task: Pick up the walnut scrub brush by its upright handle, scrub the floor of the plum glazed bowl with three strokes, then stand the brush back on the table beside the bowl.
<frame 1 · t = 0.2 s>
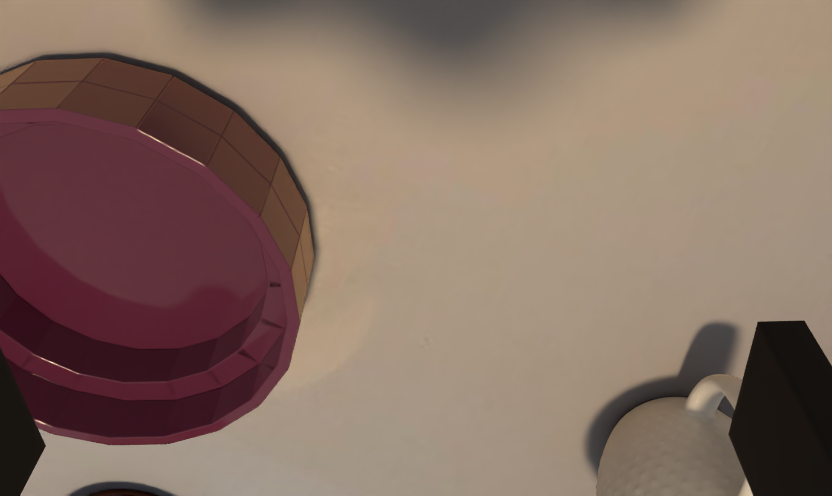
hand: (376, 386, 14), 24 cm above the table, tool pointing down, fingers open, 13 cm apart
bowl: (129, 230, 41), on the table
mug: (670, 418, 48), on the table
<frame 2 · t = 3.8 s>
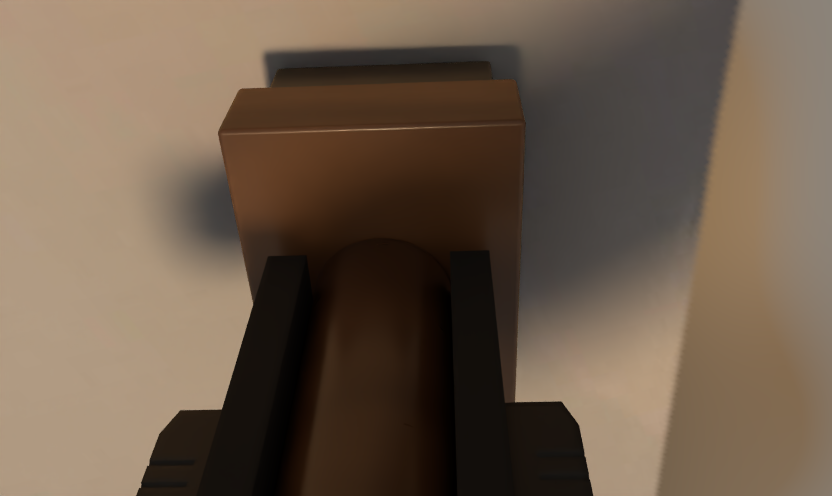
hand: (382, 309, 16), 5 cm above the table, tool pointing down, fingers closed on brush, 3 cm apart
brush: (392, 194, 20), on the table, touching gripper
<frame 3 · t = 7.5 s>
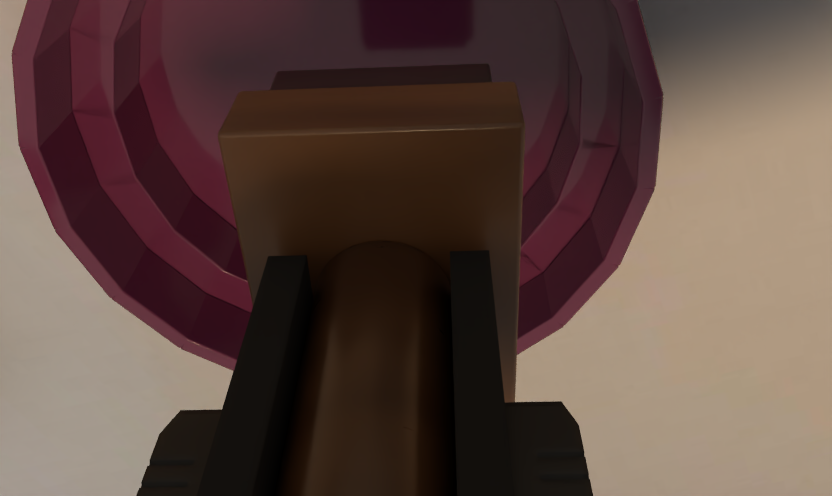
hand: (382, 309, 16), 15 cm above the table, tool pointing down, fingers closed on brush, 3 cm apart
bowl: (356, 88, 29), on the table
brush: (391, 196, 20), point 10 cm above the table, touching gripper
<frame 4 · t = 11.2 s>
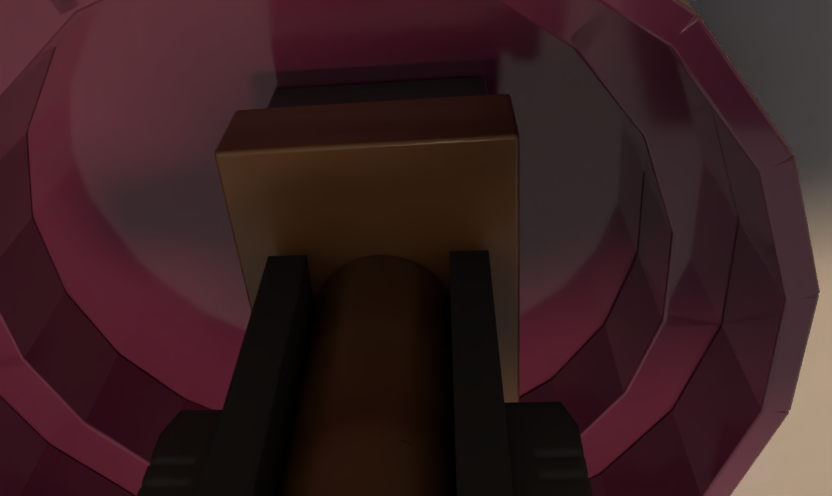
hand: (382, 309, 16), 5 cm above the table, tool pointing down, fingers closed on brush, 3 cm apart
bowl: (339, 222, 21), on the table
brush: (392, 211, 20), point 1 cm above the table, touching gripper
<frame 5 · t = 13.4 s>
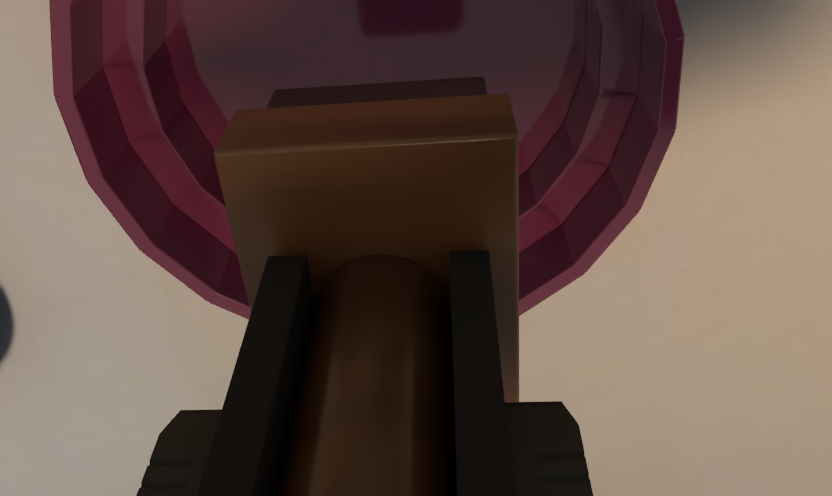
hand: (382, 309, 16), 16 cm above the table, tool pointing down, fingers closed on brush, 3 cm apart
bowl: (377, 46, 29), on the table
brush: (391, 211, 20), point 12 cm above the table, touching gripper
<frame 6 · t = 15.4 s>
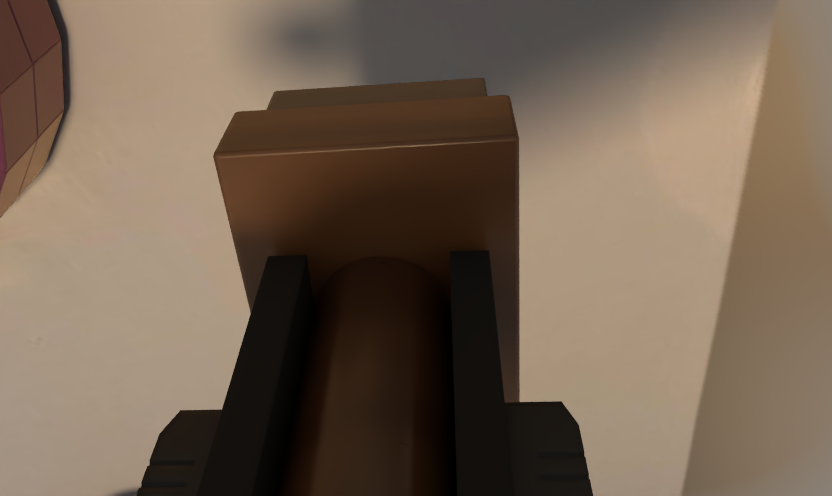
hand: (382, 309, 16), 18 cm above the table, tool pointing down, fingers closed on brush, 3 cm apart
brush: (392, 212, 20), point 14 cm above the table, touching gripper
when the fingers open (4 cm above the table, at t = 18.8 s): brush stays where it is, on the table.
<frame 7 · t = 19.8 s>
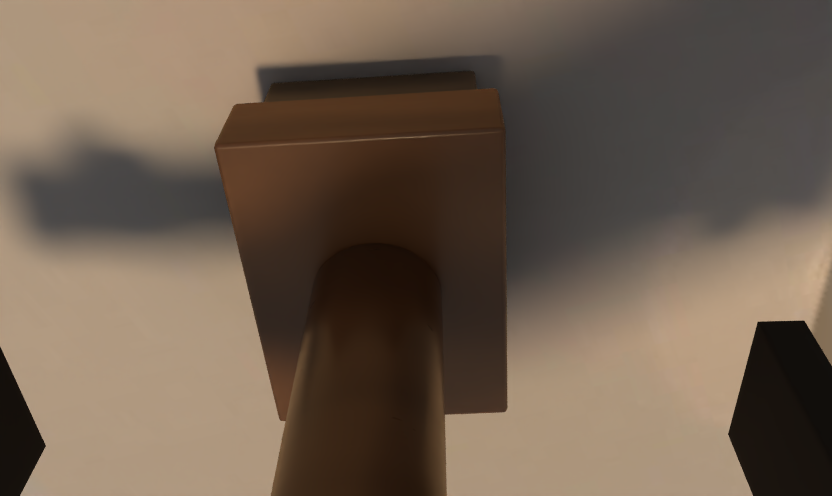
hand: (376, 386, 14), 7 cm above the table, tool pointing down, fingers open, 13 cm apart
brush: (385, 200, 20), on the table
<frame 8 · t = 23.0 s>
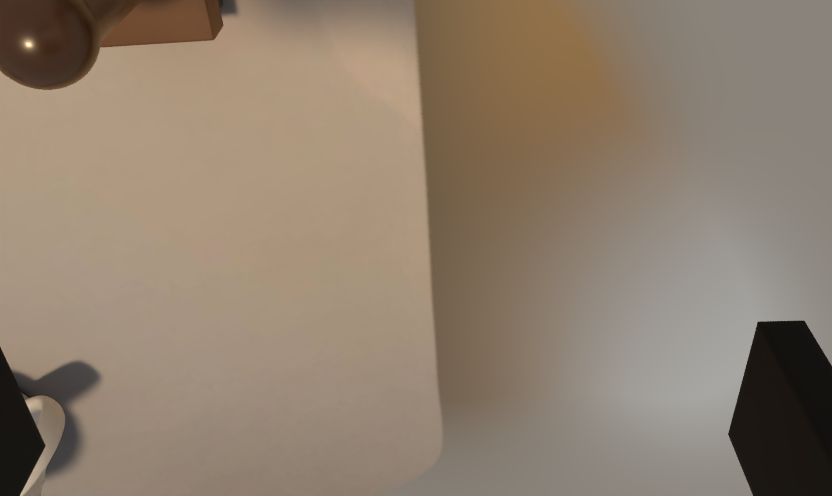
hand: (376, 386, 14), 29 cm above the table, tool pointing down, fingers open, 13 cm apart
mug: (8, 405, 56), on the table
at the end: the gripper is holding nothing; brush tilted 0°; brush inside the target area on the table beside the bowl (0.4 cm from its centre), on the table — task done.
